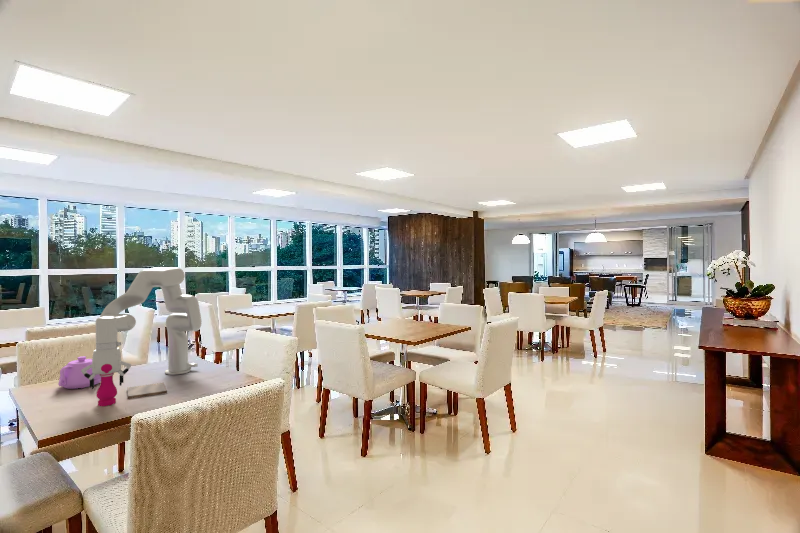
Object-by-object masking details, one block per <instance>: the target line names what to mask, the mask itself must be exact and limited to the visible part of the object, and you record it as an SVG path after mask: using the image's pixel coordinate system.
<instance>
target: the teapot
mask: <svg viewBox="0 0 800 533" xmlns="http://www.w3.org/2000/svg"><path fill="white" fill-rule="evenodd" d="M76 358H77V359H75V360H71V361H69V362H68V363H67V364H66V365H65V366H62V368H61V369H60V370H59V374H60V375H59V379H58V384H57V385H58V386H59V387H62V388H64V389H71V390H72V389H73V390H74V389H78V388H81V389H84V388H88V387H89V388H90V380H89V379H88V378H86V377H85V376H84V374H83V373H82V372H81V370H82V369H83V368H85V367H87V366H89V365H91V364H92V358H87V356H84V355H83V356H78V357H76ZM86 372H87V373H88V374H90V375H91V374H92V368H91V369H89V370H87V371H86ZM93 378H94V386H95V385H98V384H100V383H101V376H100V374H98V375H95V376H94V377H93Z"/></svg>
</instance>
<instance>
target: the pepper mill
mask: <svg viewBox="0 0 800 533" xmlns="http://www.w3.org/2000/svg"><path fill="white" fill-rule="evenodd" d="M101 370H102V371H103V372H105V373H103V374H100V376H101V381H100V383H99V386H98V388H97V391H96V395H95V396H96V398H97V399H98V400H97V405H98V406H99V407H108V405H109V406H112V404H113V405H114V404H116V403H117V398H116V396H117V394H118V390H117V389H118V388H117V387H116V385H115V383H114V380H113V377H114V375H115V373H108V372H109V371H111V370H112V365H110V364H104V365H103V366H102V367H101Z"/></svg>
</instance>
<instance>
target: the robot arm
mask: <svg viewBox="0 0 800 533" xmlns="http://www.w3.org/2000/svg"><path fill="white" fill-rule="evenodd" d="M185 276H186V275H185V272H184V270H183V269H182V268H180V267H167V266H166V267H162V266H160V267H159V266H158V267H151V268H150V269H149V268H148V269H146V268H145V269H142V270H140V271H139V272H138V273H137V275H136V277H135V278H134V279H133V281H132V282H131V284H130V286H129V287H128V288H127V290H126V292H125V293H123V294H121V295H119V296H118V297H116V298H115V299H114V300H112V301H111V302H109V303H108V304H107V305H106V306H105V308H104V309H103V310H102V312H101V314H100V316H99V317H97V318H96V319H95V349H94V350H93V351H92V356H91V359H92V364H91V365H89V366H87V367H85V368H83V369H82V370H81V372H82V373H83V374H84V376H85V377H86V378H88V379H89V380H90V386H89V388H91V390H95V385H94V378H93V377H94V376H95V375H98V374H103V373H105V372H103V371H102V370H101V367H102V366H103V365H104V364H110V365H112V370H111V371H109V372H108V373H114V374H115V373H117V374H119V386H121V387H122V384H124V376H125V375H126V374H127V373H128V372H129V370H130V369H131V366H132V364H131V363H130V362H126V361H123V360H122V355H121V349H120V347H119V346H122V341H118V332H129V331H131V330H132V329H134V328H135V326H136V324H137V320H136V318H135V316H134V315H132V314H129V313H122V312H123V311H125V310H127V309H129V308H133V307H136V306H139V305H140V304H143V303H144V302H145V301H146V300H147V298H148V296H149V295H150V293H151V292H152V290H153V288H160V289H161V291H162V296H163V301H164V305H165V309H166V311H168V312H169V313H171V314H170V315H168V316H167V318H166V320H165V325H166V326H165V327H166V330H167V342H168V343H167V348H168V350H167V352H168V353H167V354H168V355H167V356H168V357H167V361H168V362H167V363H168V364H167V365H168V366H167V368H168V369H166V370H165V371H164V374H166V375H170V376H171V375H173V376H175V375H183V374H187V373H190V372H192V368H196V367H198V362H192V363H191V362H189V337H188V335H187V333H186V332H198V331H199V330H200V329H201V326H202V315H201V311H200V305H199V301H198V298H197V297H196V296H195V295H191V294H183V292H182V289H181V285H180V284H182V283H183V282H184V280H185ZM122 366H123V367H124V366H125V369H123V370H122ZM91 368H92V374H91V375H90V374H88V373H87V372H86V371H87V370H89V369H91Z"/></svg>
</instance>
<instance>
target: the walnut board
mask: <svg viewBox="0 0 800 533" xmlns="http://www.w3.org/2000/svg"><path fill="white" fill-rule="evenodd" d="M165 394H168V389H167V387H166V384H165V382H159V383H157V382H156V383H151V384H144V385H137V386H135V385H134V386H128V387H127V399H128V400H132V399H137V398H145V397H151V396H157V395H165Z"/></svg>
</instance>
